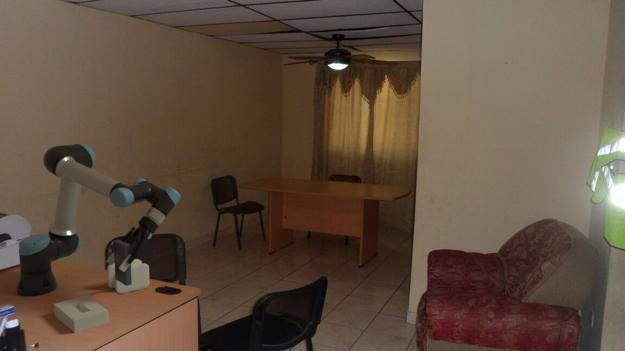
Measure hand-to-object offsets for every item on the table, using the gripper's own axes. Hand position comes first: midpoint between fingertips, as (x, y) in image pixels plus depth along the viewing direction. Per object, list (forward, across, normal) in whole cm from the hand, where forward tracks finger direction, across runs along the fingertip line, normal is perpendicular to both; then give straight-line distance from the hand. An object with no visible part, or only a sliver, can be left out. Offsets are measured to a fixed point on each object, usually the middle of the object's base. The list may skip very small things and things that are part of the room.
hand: (115, 266), depth 181 cm
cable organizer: (+3, +20, -24) cm, 31 cm away
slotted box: (+23, 0, -4) cm, 23 cm away
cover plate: (+3, 0, -7) cm, 8 cm away
